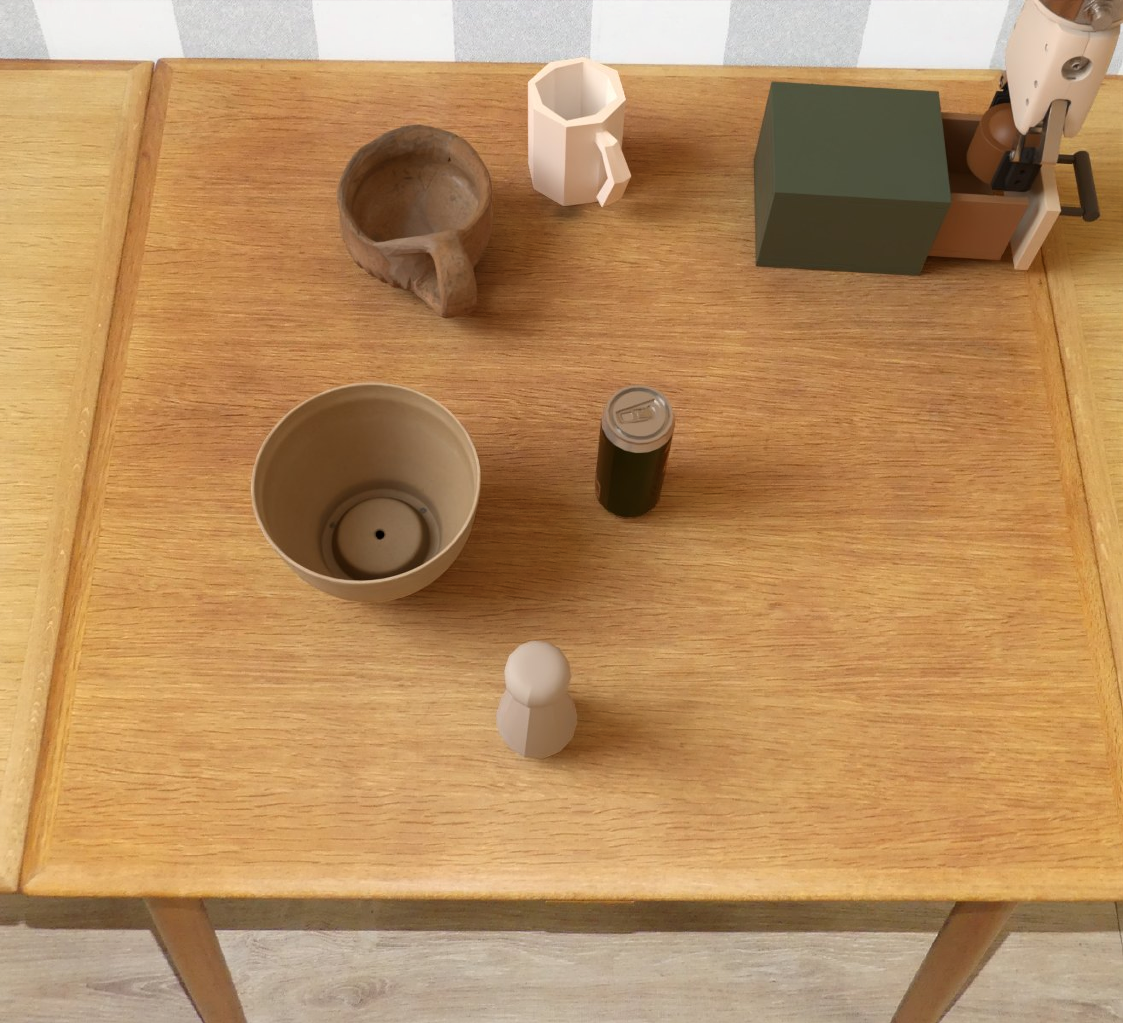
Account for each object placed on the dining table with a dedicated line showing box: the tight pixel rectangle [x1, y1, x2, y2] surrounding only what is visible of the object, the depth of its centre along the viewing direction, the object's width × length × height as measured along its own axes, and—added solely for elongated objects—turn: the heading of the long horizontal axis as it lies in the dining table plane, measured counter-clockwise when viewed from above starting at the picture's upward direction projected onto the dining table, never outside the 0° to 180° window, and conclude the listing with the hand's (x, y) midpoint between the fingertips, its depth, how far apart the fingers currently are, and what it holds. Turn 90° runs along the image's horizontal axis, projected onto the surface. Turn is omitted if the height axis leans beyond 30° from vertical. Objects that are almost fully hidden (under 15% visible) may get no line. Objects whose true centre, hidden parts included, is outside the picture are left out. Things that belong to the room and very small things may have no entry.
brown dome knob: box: [966, 103, 1043, 185], centre depth 102 cm, size 6×6×5 cm
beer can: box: [594, 384, 676, 519], centre depth 93 cm, size 5×5×12 cm
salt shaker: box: [495, 640, 579, 760], centre depth 83 cm, size 6×6×13 cm
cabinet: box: [753, 81, 952, 277], centre depth 108 cm, size 15×13×10 cm
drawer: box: [927, 111, 1101, 271], centre depth 108 cm, size 18×11×8 cm, turn 87°
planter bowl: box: [250, 381, 482, 604], centre depth 91 cm, size 16×16×11 cm
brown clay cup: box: [336, 124, 494, 319], centre depth 105 cm, size 18×14×10 cm
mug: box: [527, 56, 632, 208], centre depth 109 cm, size 12×9×10 cm
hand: (1005, 157), depth 104 cm, fingers closed on brown dome knob, 6 cm apart
